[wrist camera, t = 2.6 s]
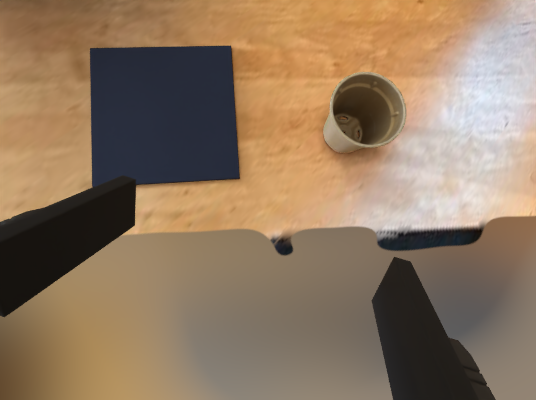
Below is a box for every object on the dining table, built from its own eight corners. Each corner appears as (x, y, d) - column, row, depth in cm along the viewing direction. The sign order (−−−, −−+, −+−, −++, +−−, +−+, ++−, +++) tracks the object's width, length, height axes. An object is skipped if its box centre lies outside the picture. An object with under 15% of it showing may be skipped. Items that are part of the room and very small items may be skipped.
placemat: (91, 50, 39) (89, 48, 39) (231, 47, 41) (230, 45, 40) (94, 187, 37) (92, 186, 37) (239, 178, 39) (239, 178, 39)
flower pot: (358, 94, 42) (387, 60, 33) (383, 150, 41) (419, 131, 33) (303, 115, 41) (317, 86, 32) (327, 173, 40) (349, 159, 32)
